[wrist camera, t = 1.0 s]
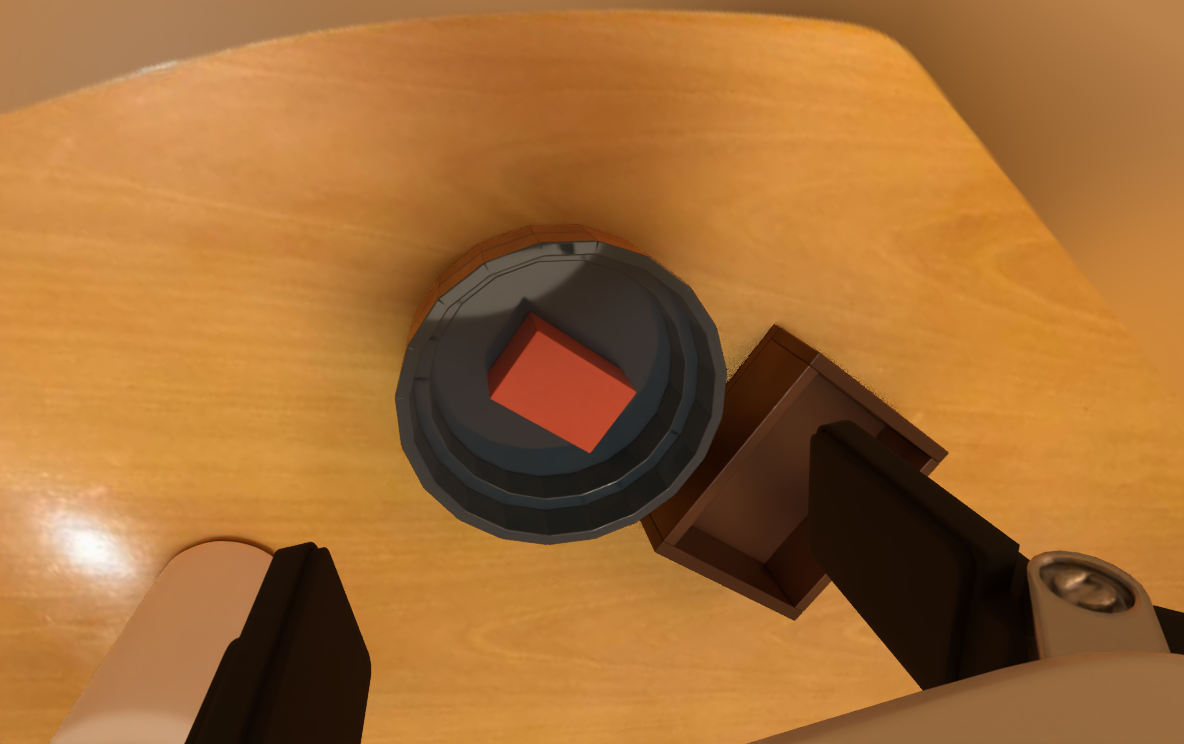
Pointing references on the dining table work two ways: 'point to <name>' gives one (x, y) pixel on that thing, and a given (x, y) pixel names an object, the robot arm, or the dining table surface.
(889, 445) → the holder
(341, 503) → the dining table surface
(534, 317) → the block
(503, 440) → the bowl
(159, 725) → the can
